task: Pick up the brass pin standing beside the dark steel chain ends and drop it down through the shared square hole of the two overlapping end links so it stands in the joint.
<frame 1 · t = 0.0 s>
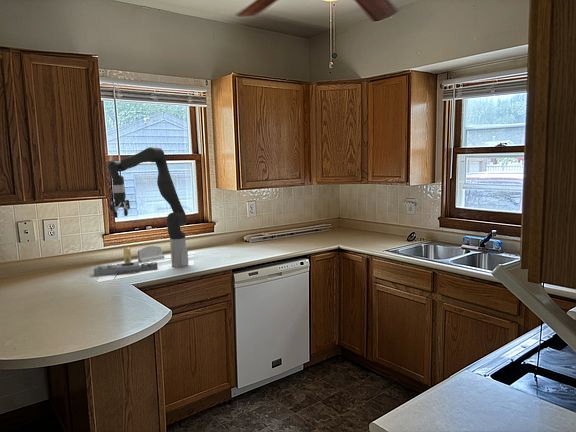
hand: (121, 216, 283), 29 cm above the worktop, tool pointing down, fingers open, 8 cm apart
brass pin: (128, 267, 269), on the worktop
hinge: (150, 260, 288), on the worktop
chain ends: (128, 271, 258), on the worktop
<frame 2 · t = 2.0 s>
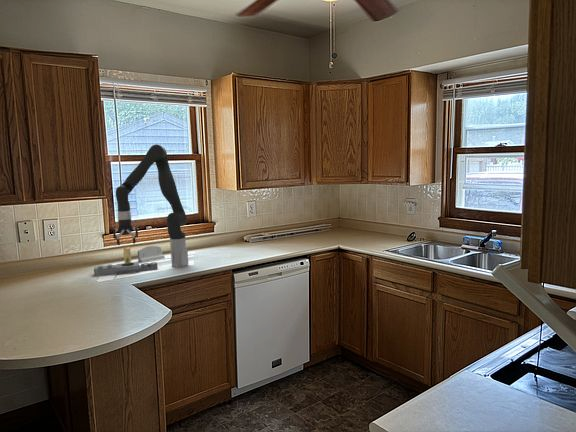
hand: (126, 244, 267), 14 cm above the worktop, tool pointing down, fingers open, 8 cm apart
nothing on the worktop moved.
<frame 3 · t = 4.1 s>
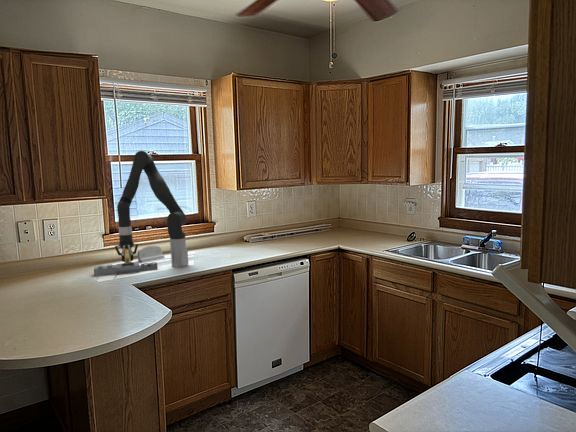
hand: (127, 261, 268), 4 cm above the worktop, tool pointing down, fingers closed on brass pin, 4 cm apart
brass pin: (128, 267, 269), on the worktop, touching gripper
everything else where it was.
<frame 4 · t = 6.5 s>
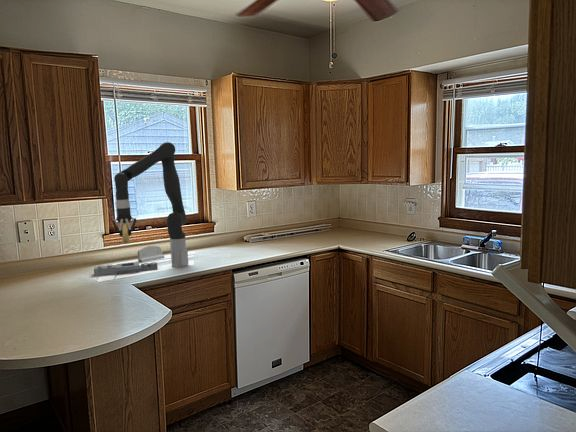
hand: (125, 236, 256), 21 cm above the worktop, tool pointing down, fingers closed on brass pin, 4 cm apart
brass pin: (126, 242, 256), point 17 cm above the worktop, touching gripper
everything else where it was.
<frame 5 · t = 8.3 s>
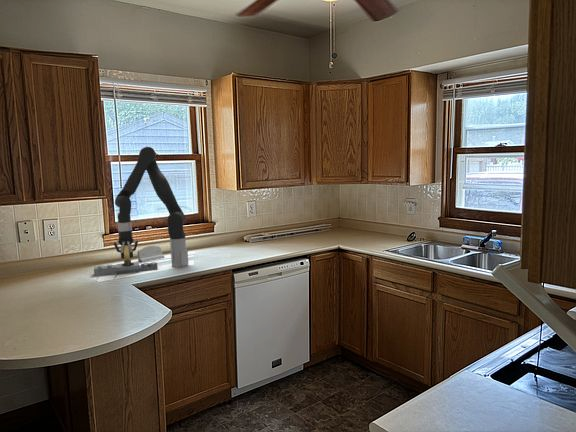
hand: (127, 258, 258), 8 cm above the worktop, tool pointing down, fingers closed on brass pin, 4 cm apart
brass pin: (127, 264, 258), point 4 cm above the worktop, touching gripper
everything else where it was.
when the fingers open (6 cm above the worktop, at t = 9.4 s): brass pin drops 2 cm, resting in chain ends.
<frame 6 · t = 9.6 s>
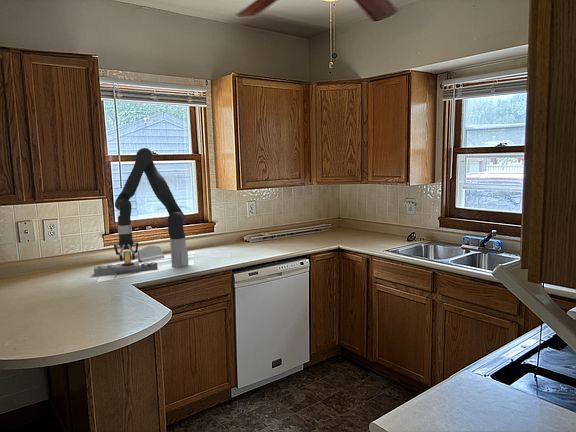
hand: (127, 260, 258), 7 cm above the worktop, tool pointing down, fingers open, 5 cm apart
brass pin: (128, 271, 258), resting in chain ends
everything else where it was.
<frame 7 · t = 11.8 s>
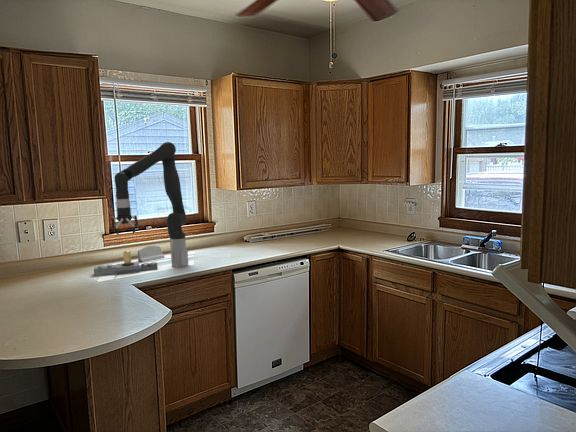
hand: (125, 233, 256), 22 cm above the worktop, tool pointing down, fingers open, 8 cm apart
nothing on the worktop moved.
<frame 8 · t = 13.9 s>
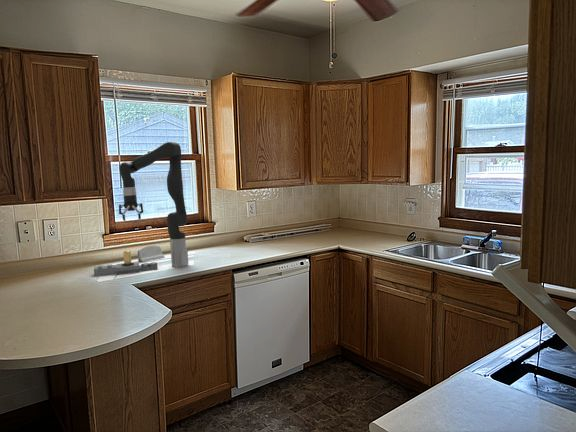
hand: (131, 220, 272), 28 cm above the worktop, tool pointing down, fingers open, 8 cm apart
nothing on the worktop moved.
at the end: brass pin 0.1 cm off-centre on the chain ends, point 0.0 cm above the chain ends's base; brass pin tilted 0°; the gripper is holding nothing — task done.
